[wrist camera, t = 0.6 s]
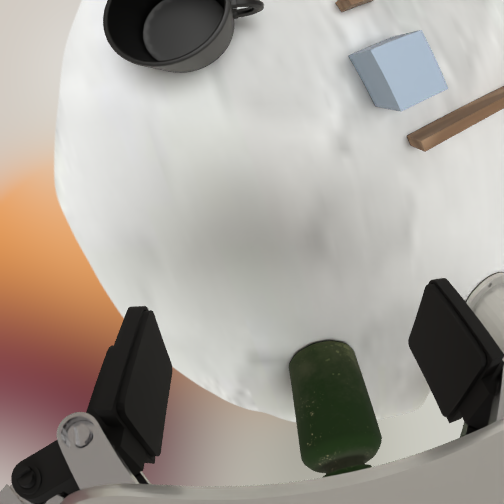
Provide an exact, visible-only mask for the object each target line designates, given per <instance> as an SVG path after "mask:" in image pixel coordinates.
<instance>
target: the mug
mask: <svg viewBox="0 0 504 504" xmlns="http://www.w3.org/2000/svg"><path fill="white" fill-rule="evenodd" d="M237 7H248V8H244V9H238V10H237V9H233V8H237ZM263 8H264V4H263V2H261V1H259V0H108V1H107V4H106V7H105V10H104V17H103V26H104V32H105V35H106V38H107V40H108V42H109V44H110V45H111V47H112V48H113V50H114V51H115V52H116V53H117V54H118V55H120V56H121V57H122V58H124V59H126V60H128V61H130V62H132V63H134V64H138V65H142V66H147V67H151V68H156V69H161V70H165V71H170V72H180V73H182V72H191V71H195V70H198V69H201V68H203V67H206V66H207V65H209V64H211V63H212V62H214V61H215V60H216V59H218V58H219V57H220V56H221V55H222V54H223V52H224V51H225V50H226V48H227V47H228V45H229V43H230V41H231V39H232V36H233V32H234V19H237V18H238V17H244V16H249V15H252V14H255V13H257V12H260V11H261V10H263Z"/></svg>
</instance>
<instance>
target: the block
mask: <svg viewBox="0 0 504 504" xmlns="http://www.w3.org/2000/svg"><path fill="white" fill-rule="evenodd" d="M349 58H350V59H351V61H352V63H353V65H354V66H355V68H356V70H357V72H358V74H359V75H360V77H361V79H362V81H363V83H364V85H365V87H366V89H367V90H368V92H369V94H370V96H371V98H372V100H373V102H374V104H375V106H377V107H382V108H387V109H391V110H396V111H403V110H405V109H407V108H409V107H411V106H413V105H415V104H417V103H419V102H422V101H424V100H426V99H428V98H430V97H432V96H434V95H436V94H438V93H440V92H442V91H444V90H446V89H448V87H447V84H446V82H445V79H444V77H443V74H442V72H441V70H440V67H439V65H438V63H437V61H436V59H435V56H434V54H433V52H432V50H431V48H430V46H429V44H428V42H427V40H426V38H425V36H424V34H423V32H422V30H419V31H415V32H410V33H406V34H402V35H398V36H394V37H391V38H389V39H386V40H384V41H381V42H379V43H377V44H374V45H372V46H369V47H367V48H365V49H362V50H360V51H358V52H356V53H353V54H351V55H349Z"/></svg>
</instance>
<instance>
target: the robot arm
mask: <svg viewBox="0 0 504 504" xmlns="http://www.w3.org/2000/svg"><path fill="white" fill-rule="evenodd" d="M409 347H410V349H411V351H412V353H413V355H414V357H415V359H416V361H417V363H418V365H419V367H420V369H421V371H422V373H423V375H424V377H425V379H426V381H427V383H428V385H429V387H430V389H431V391H432V393H433V395H434V397H435V399H436V401H437V404H438V406H439V408H440V410H441V413H442V414H443V416H445V417H447V419H448V421H449V423H451V422H454V421H456V420H459V419H461V418H462V417H463V420H464V425H463V429H462V432H461V436H460V438H458V439H456V440H453V441H451V442H448V443H446V444H443V445H441V446H438V447H435V448H433V449H430V450H427V451H424V452H422V453H418V454H415V455H412V456H409V457H407V458H403V459H400V460H396V461H393V462H389V463H386V464H382V465H378V466H374V467H370V468H366V469H362V470H358V471H353V472H349V473H344V474H339V475H334V476H328V477H323V478H316V479H310V480H303V481H295V482H288V483H278V484H266V485H251V486H220V487H219V486H215V487H202V486H201V487H200V486H199V487H198V486H172V485H171V486H170V485H152V484H150V482H149V481H148V480H147V478H146V477H145V476H144V474H143V473H142V471H143V468H144V463H153V464H154V463H155V456H159V455H160V453H161V446H162V438H163V430H164V423H165V415H166V408H167V403H168V396H169V390H170V383H171V377H172V364H171V361H170V358H169V356H168V353H167V350H166V347H165V345H164V342H163V339H162V336H161V333H160V330H159V327H158V324H157V322H156V318H155V315H154V313H153V311H151V310H150V311H148V308H147V307H146V306H139V307H129V308H128V310H127V312H126V315H125V318H124V320H123V323H122V326H121V328H120V331H119V333H118V336H117V339H116V341H115V344H114V346H111V347H109V349H108V351H107V353H106V356H105V359H104V362H103V364H102V367H101V370H100V373H99V376H98V379H97V381H96V385H95V387H94V391H93V393H92V396H91V400H90V403H89V406H88V409H87V412H86V413H84V412H76V413H73V414H70V415H68V416H67V417H66V418H64V419H63V420H62V422H61V423H60V425H59V427H58V429H57V440H56V441H54V442H53V443H51V444H50V445H48V446H46V447H45V448H43V449H41V450H40V451H38V452H36V453H35V454H33V455H31V456H29V457H28V458H26V459H24V460H23V461H21V462H20V463H18V464H17V465H16V467H15V468H14V470H13V473H12V485H11V486H9V485H6V486H5V487H4V488H3V490H1V492H0V504H504V273H497V274H494V275H492V276H490V277H489V278H487V279H485V280H484V281H483V282H482V283H481V284H480V285H479V286H478V287H477V288H476V289H475V290H474V291H473V293H472V294H471V295H470V297H469V298H468V300H467V301H466V302H465V301H464V299H463V298H462V297H461V296H460V295H459V293H458V292H457V291H456V290H455V288H454V287H453V286H452V285H451V284H450V282H449V281H448V280H447V279H445V278H441V279H435V280H431V281H430V282H429V284H428V285H426V287H425V290H424V293H423V297H422V300H421V303H420V307H419V310H418V313H417V316H416V319H415V322H414V325H413V328H412V331H411V334H410V337H409Z"/></svg>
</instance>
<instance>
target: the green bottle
mask: <svg viewBox="0 0 504 504" xmlns="http://www.w3.org/2000/svg"><path fill="white" fill-rule="evenodd" d="M289 371H290V378H291V385H292V392H293V400H294V407H295V414H296V422H297V429H298V436H299V445H300V452H301V458H302V461H303V463H304V464H305V465H306V466H307V467H309V468H310V469H312V470H313V471H316V472H320V473H326V475H325V476H323V477H328V476H334V475H339V474H344V473H349V472H353V471H358V470H362V469H366V468H370V467H372V466H371V465H365V464H364V463H366V462H367V461H369V460H370V459H371V458H373V457H374V456H375V455H376V453H377V451H378V449H379V447H380V444H381V439H382V437H381V433H380V430H379V427H378V423H377V420H376V417H375V414H374V411H373V407H372V404H371V401H370V398H369V395H368V392H367V389H366V386H365V383H364V380H363V377H362V374H361V371H360V368H359V365H358V362H357V359H356V356H355V353H354V351H353V349H352V348H350V347H349V346H348V345H347V344H345V343H341V342H336V341H325V342H320V343H315V344H312V345H310V346H308V347H306V348H305V349H303V350H301V351H299V352H298V353H297V354H296V355H295V356H294V358H293V359H292V361H291V362H290V365H289ZM323 477H322V478H323Z"/></svg>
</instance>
